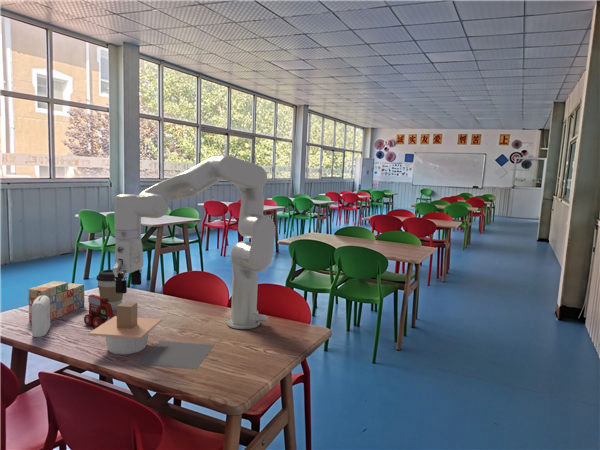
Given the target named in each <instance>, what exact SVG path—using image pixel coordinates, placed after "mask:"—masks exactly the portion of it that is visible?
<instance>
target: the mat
mask: <svg viewBox="0 0 600 450" xmlns="http://www.w3.org/2000/svg"><path fill="white" fill-rule="evenodd" d="M214 345H215V344H206V343H205V344H204V343H193V342H180V341H169V340H168V341H166V340H159V342H157V344H155V345H154V346H153V347H152V348H151V349H150V350H149V351H148V352H147V353H146V354H145V355H143V357H142V358H140V359H139V360H138V361H137V362H136V363H135V365H141V366H153V367H165V368H174V369H175V368H177V369H188V370H189V369H191V370H197V369H198V368H199V366H200V365H201V363H202V362H203V361H204V359H205V358H206V356H207V355H209V353H210V351H211V350H212V348H213V347H214Z"/></svg>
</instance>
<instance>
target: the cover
mask: <svg viewBox="0 0 600 450" xmlns="http://www.w3.org/2000/svg"><path fill="white" fill-rule="evenodd" d="M162 321H163V320H162V318H151V317H149V318H148V317H138V302H135V301H133V302H131V301H122V303H121V304H119V305H117V310H116V315H115V316H114V317H113V318H111V319H110V320H108V321H107V322H105V323H103V324H102V325H100V326H99V327H97V328H94V329H92V330H91V331H89V332H88V333H87V334H88V336H95V337H97V336H98V337H99V336H100V337H106V336H108V337H122V338H136V339H141V338H142V337H144V336H145V335H146V334H147V333H148V332H149V333H150V332H151V331H152V330H153V329H155V327H157V326H158V325H159V324H160V323H161V322H162ZM149 333H148V334H149Z"/></svg>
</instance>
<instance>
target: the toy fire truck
mask: <svg viewBox="0 0 600 450" xmlns="http://www.w3.org/2000/svg"><path fill="white" fill-rule="evenodd" d="M87 298H88V301H87V302H88V313H87V314H85V315H84V317H83V322H84V324H85V325H86V326H93V327H94V329H96V328H97V327H99V326H100V325H102V324H103V323H105V322H107V321H108V320H110V319H111V318H113V317H114V316H116V315H115V314H114V310H112V307H111V304H110V303H108V302H109V299H108V298H103V297H100V295H96V294H90V295H89V296H88V297H87Z"/></svg>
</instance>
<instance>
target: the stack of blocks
mask: <svg viewBox="0 0 600 450" xmlns="http://www.w3.org/2000/svg"><path fill="white" fill-rule="evenodd" d="M44 295H45V296H47V297H48V298H49V299H50V321H52V320H54V319H55V320H56V319H57V318H60V317H62V316H64V315H67V314H69V313H71V312H74V311H76V310H79V309H81V308H83V307H85V284H83V283H72V282H71V283H69V282H65V281H57V280H56V281H55V280H53V281H50V282H47V283H43V284H41V285H38V286H33V287H31V288H30V287H29V288H28V317H29V318H28V319H29V320H28V321H29V322H32V304H33V302H34V301H35V299H36V298H37V297H39V296H44Z"/></svg>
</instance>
